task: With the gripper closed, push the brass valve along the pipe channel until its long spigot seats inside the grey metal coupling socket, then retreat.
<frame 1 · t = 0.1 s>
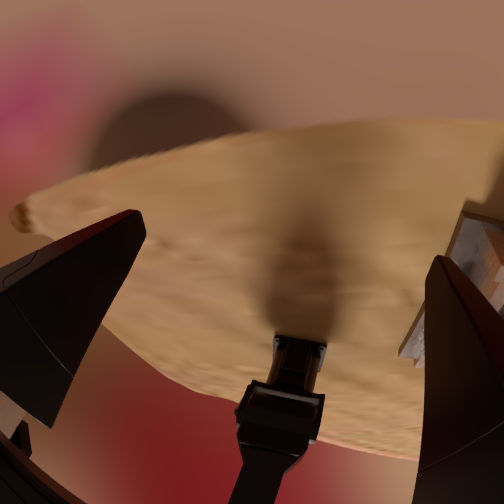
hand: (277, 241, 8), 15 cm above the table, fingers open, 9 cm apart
pipe run: (476, 302, 24), on the table
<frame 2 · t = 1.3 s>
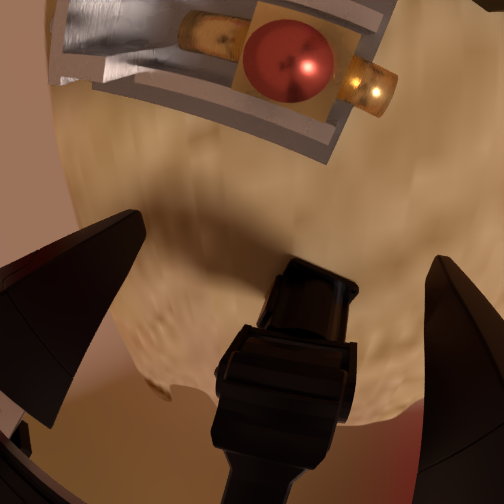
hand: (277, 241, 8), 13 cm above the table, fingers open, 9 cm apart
pipe run: (218, 31, 15), on the table
valve: (306, 57, 14), point 1 cm above the table, touching pipe run
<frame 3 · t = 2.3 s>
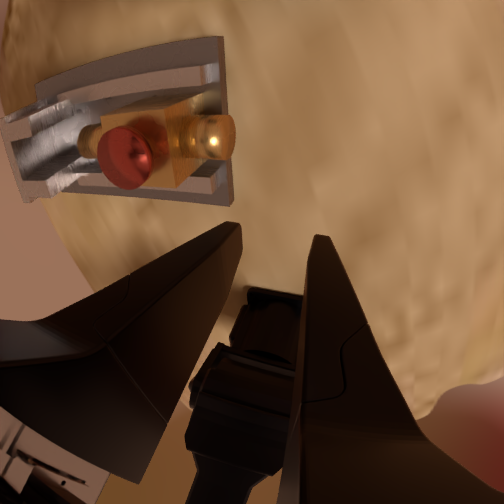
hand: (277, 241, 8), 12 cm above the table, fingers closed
pipe run: (119, 126, 21), on the table
valve: (175, 126, 19), point 1 cm above the table, touching pipe run
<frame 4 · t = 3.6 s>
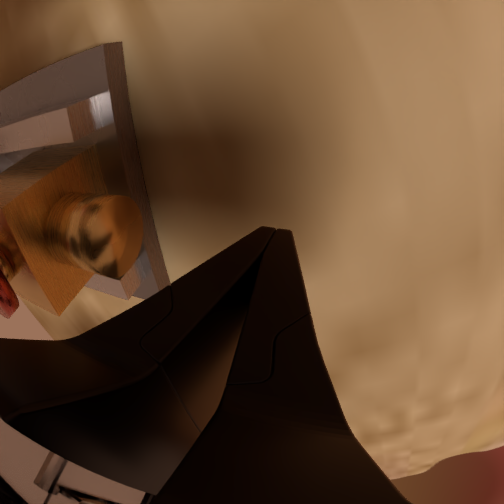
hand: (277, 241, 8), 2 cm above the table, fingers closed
pipe run: (27, 182, 14), on the table
valve: (74, 194, 12), point 1 cm above the table, touching pipe run
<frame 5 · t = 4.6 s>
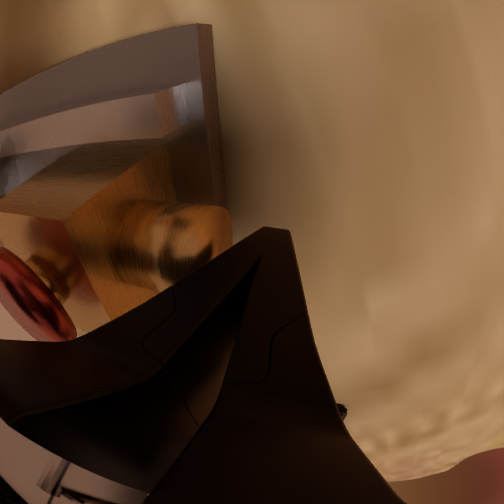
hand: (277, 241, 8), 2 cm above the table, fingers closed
pipe run: (59, 185, 13), on the table
valve: (127, 200, 11), point 1 cm above the table, touching gripper
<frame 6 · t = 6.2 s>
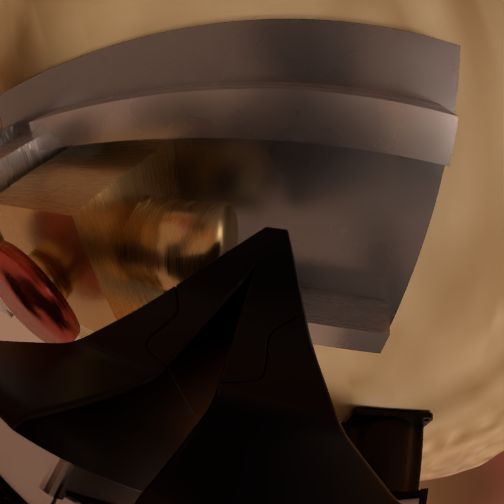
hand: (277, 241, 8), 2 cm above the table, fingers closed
pipe run: (165, 190, 11), on the table
valve: (130, 196, 11), point 1 cm above the table, touching gripper, pipe run
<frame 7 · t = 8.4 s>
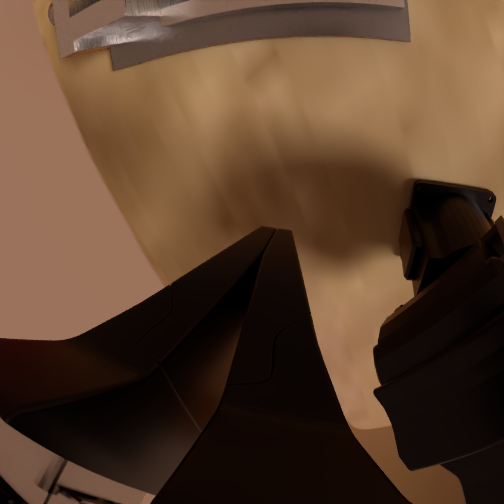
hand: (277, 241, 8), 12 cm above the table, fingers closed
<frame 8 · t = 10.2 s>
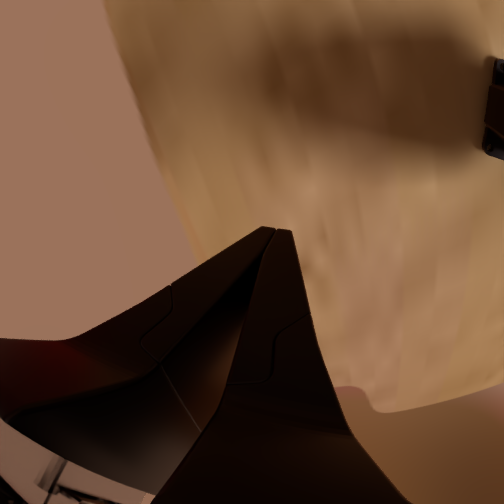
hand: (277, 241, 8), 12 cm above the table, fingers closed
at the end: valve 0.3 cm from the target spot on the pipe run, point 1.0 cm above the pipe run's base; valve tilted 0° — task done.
